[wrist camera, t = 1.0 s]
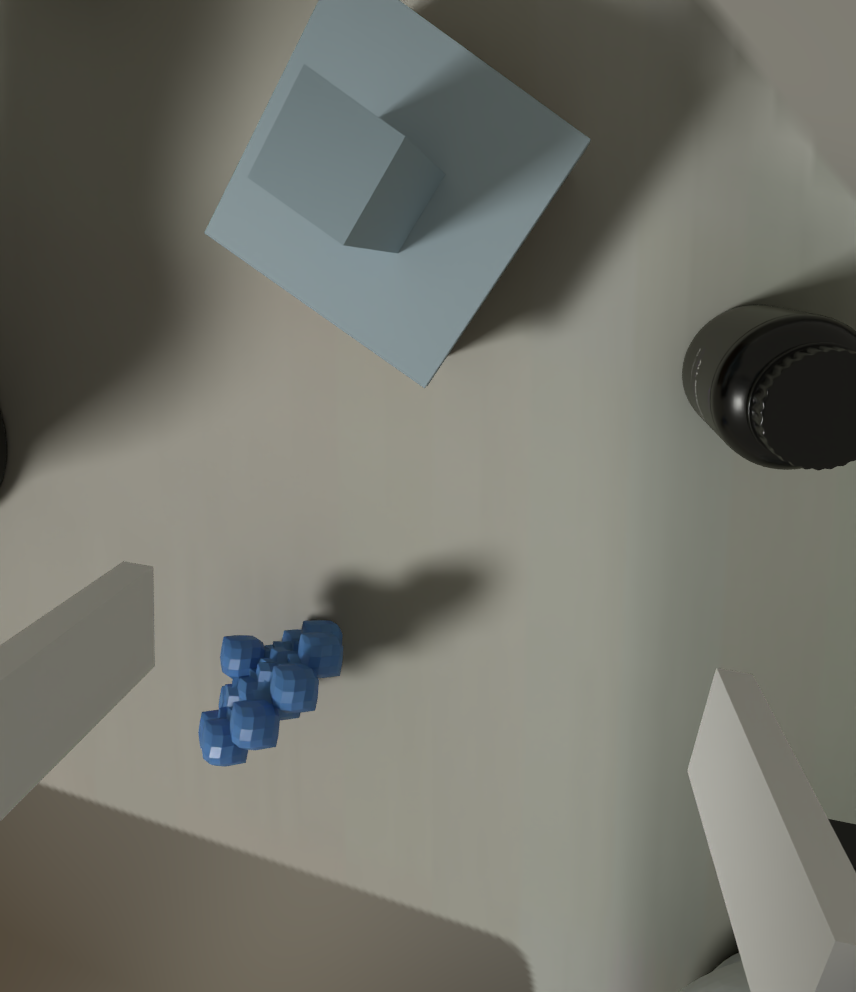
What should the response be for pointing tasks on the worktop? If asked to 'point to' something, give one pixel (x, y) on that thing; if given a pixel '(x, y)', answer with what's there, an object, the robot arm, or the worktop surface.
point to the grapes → (267, 688)
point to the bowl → (722, 978)
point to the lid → (392, 180)
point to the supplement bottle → (776, 386)
